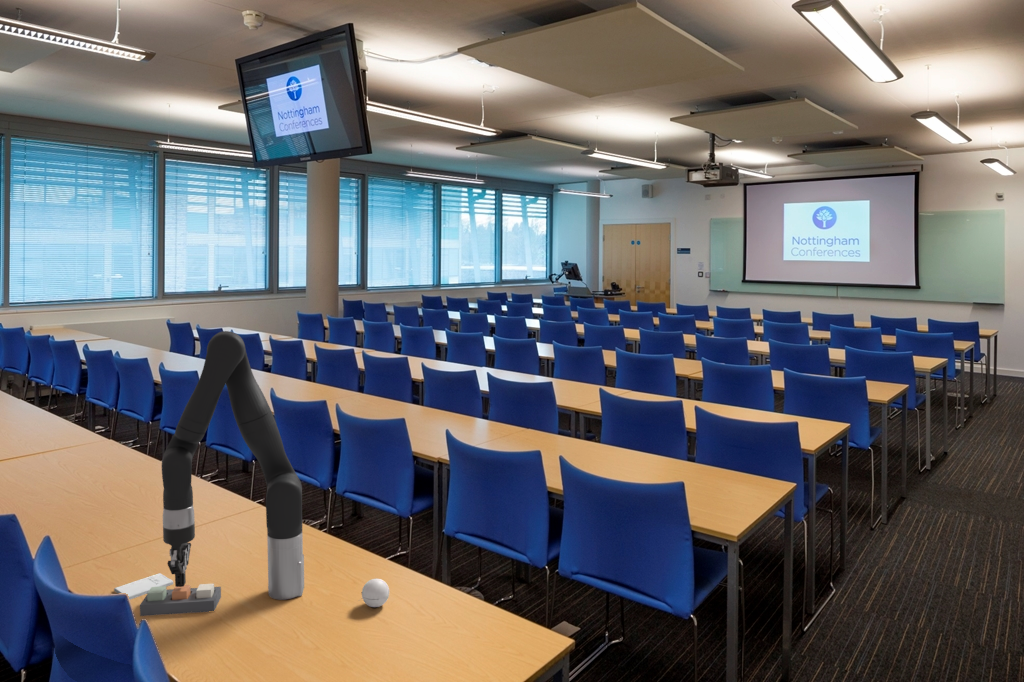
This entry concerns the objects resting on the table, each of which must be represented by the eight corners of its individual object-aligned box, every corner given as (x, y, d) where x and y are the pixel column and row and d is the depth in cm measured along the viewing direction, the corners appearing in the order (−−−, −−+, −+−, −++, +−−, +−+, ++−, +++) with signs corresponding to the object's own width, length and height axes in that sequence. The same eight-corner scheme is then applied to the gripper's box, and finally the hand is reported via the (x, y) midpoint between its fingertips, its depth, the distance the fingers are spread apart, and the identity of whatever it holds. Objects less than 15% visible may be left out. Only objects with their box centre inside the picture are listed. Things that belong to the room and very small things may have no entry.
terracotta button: (190, 596, 189) (190, 584, 188) (187, 603, 185) (186, 591, 185) (176, 597, 188) (175, 585, 188) (172, 604, 185) (171, 592, 184)
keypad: (221, 596, 192) (220, 586, 192) (214, 611, 185) (213, 600, 184) (150, 601, 189) (149, 590, 189) (140, 616, 181) (139, 605, 181)
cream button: (214, 595, 190) (213, 583, 189) (211, 601, 186) (210, 589, 186) (200, 596, 189) (199, 584, 189) (196, 602, 186) (196, 590, 185)
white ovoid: (379, 596, 195) (379, 571, 194) (394, 606, 190) (394, 580, 189) (347, 608, 188) (347, 582, 187) (362, 619, 183) (362, 592, 182)
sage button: (166, 598, 188) (166, 586, 187) (162, 604, 184) (162, 592, 184) (152, 599, 187) (151, 587, 187) (147, 605, 184) (147, 593, 183)
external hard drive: (114, 593, 194) (159, 577, 204) (127, 602, 189) (173, 585, 199) (114, 587, 194) (159, 572, 204) (127, 596, 189) (173, 580, 199)
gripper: (187, 531, 178) (188, 596, 180) (200, 512, 191) (202, 573, 193) (155, 533, 177) (157, 598, 179) (171, 513, 190) (172, 575, 192)
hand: (180, 585), depth 186 cm, fingers closed
